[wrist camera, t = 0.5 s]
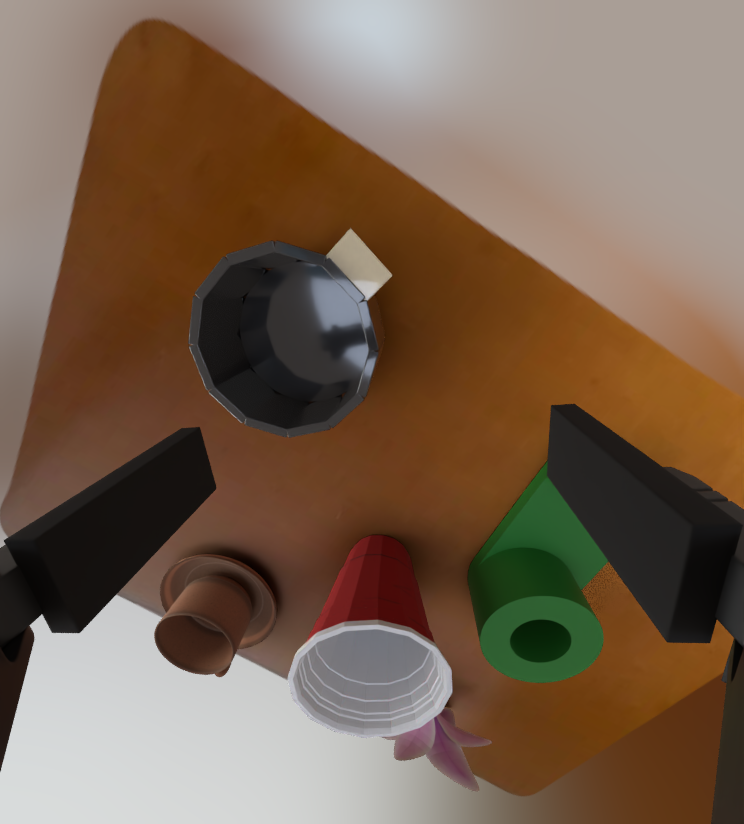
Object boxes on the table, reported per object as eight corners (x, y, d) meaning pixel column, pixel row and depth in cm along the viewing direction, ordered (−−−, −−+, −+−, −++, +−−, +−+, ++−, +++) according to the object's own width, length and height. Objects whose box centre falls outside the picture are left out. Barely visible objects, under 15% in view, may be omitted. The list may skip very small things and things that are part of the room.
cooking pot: (312, 432, 29) (289, 467, 23) (207, 331, 27) (154, 343, 21) (434, 320, 25) (441, 330, 20) (322, 193, 23) (294, 164, 18)
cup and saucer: (304, 612, 38) (285, 671, 32) (218, 645, 41) (186, 705, 35) (236, 526, 35) (202, 574, 29) (149, 568, 38) (102, 619, 32)
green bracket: (530, 627, 35) (555, 697, 29) (449, 590, 35) (458, 654, 29) (658, 487, 29) (723, 539, 23) (563, 439, 29) (604, 480, 23)
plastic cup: (430, 610, 36) (440, 758, 25) (324, 594, 36) (286, 731, 25) (448, 519, 32) (469, 645, 21) (329, 503, 33) (288, 617, 22)
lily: (350, 651, 40) (340, 771, 34) (414, 639, 33) (417, 792, 26) (432, 664, 45) (437, 772, 39) (506, 656, 37) (528, 790, 31)
